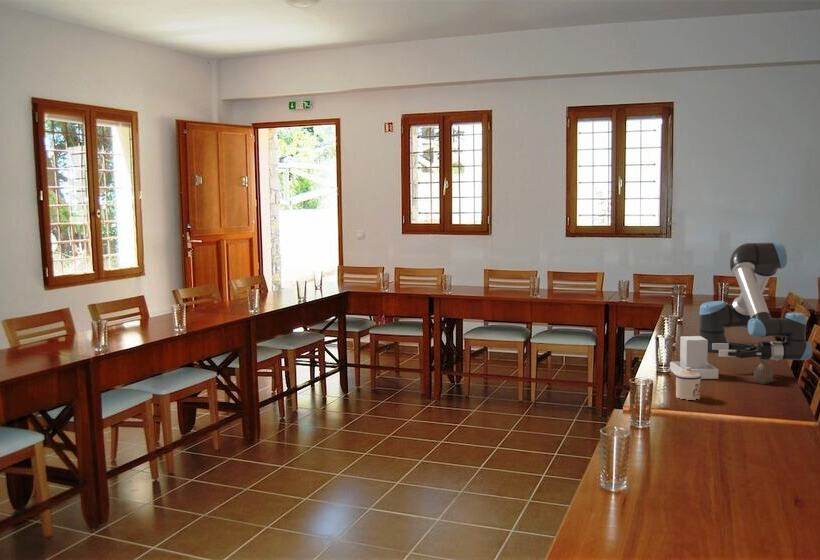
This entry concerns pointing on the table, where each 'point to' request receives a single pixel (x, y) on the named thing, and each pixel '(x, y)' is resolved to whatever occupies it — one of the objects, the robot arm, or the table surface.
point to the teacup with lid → (688, 384)
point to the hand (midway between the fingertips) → (715, 349)
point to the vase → (763, 373)
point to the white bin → (697, 370)
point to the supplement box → (693, 352)
